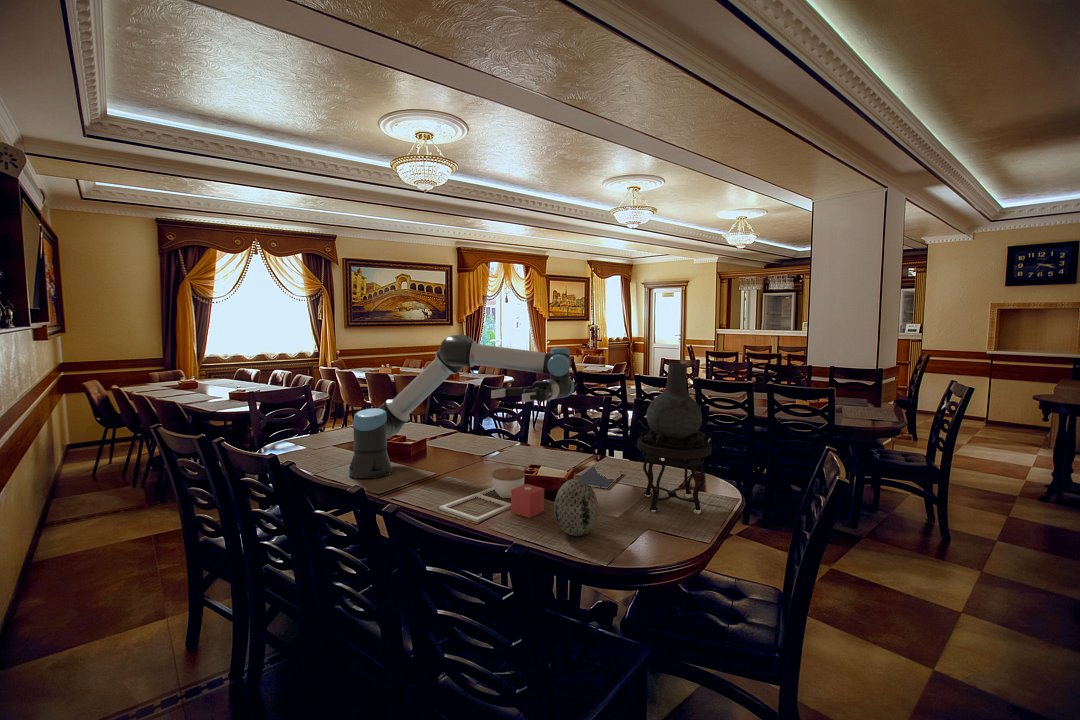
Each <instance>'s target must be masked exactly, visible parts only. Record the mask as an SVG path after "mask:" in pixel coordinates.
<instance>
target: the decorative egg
mask: <svg viewBox="0 0 1080 720" xmlns="http://www.w3.org/2000/svg"><path fill="white" fill-rule="evenodd" d="M553 506H554V507H553V508H554V509H553V511H554V518H555V521H556V523H557V525H558V527H559V528H560V529H561V531H563V532H564V533H566V534H567V535H569V536H574V537H580V536H584V535H586V534H588V533H589V532H590V531H592V530H593V529H594V527H595V525H596V523H597V522H598V521H597V520H598V517H599V502H598V499H597V495H596V492H595V490H594V488H593V487H590V485H589V484H587V483H586V482H585V481H583V480H581V479H577V478H571V479H569V480H567V481H565V482H564V483H563V484H562V485H561V487H560V488H559V489H558V491H557V493H556V496H555V499H554V505H553Z"/></svg>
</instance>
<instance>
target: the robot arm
mask: <svg viewBox="0 0 1080 720" xmlns="http://www.w3.org/2000/svg"><path fill="white" fill-rule="evenodd" d="M570 352H571V351H570V349H569V348H568V347H552V348H551V349H550V353H549V352H541V351H535V350H526V349H520V348H519V349H518V348H511V347H503V346H497V345H496V346H495V345H487V344H479V343H477V341H475V340H473V338H472V337H470V336H468V335H466V334H454V335H449V336H447V337H445V338H444V339H443V340H442V341H441V343H440V345H439V349H438V350H437V351H436V352H435V354H434V355H435V356H434V357H435V358H434V360H432V361H431V362H430V363H429V364H428V365H427V366H426V367H425V368H424V369H423V370H422V371H421V372H420V373H419V374H418V375H417V376H416V377H414V379H412V381H410V383H408V384H407V386H405V387H404V388H403V389H402V390H401V391H400V392H399V393H398V394H397V395H396V396H395V397H393V398H392V399H389V398H388V399H386V400H385V401H384V402H383V403H382V404H381V405H380V406H379V407H378V408H373V407H372V408H366V409H362V410H361V409H360V410H358V411H357V412H356V413H355V414H354V416H353V422H352V425H353V455H352V457H351V462H350V465H349V468H348V476H349V475H350V476H352V477H356V478H374V479H376V478H375V477H380V478H382V477H381V476H384V477H386V476H385V475H387V474H389V473H391V474H392V472H393V471H392V470H393V469H392V468H393V466H392V462H391V461H390V457H389V454H388V450H387V448H388V438H390V437H392V436H394V435H396V434H397V433H398V432H400V431H401V430H402V428H403V427H404V425H405V424H406V423H407V422H409V420H410V414H411V413H412V412H413V411H414V410H415V409H416V408H417V407H418V406H419V405H421V404H422V403H423V402H424V401H425V400H426V399H427V397H429V396H430V395H431V394H432V393H433V392H434V391H435V390H436V389H437V388H439V386H440V385H441V384H442V383H443V382H444V381H446V380H447V379H448V378H449V377H450V375H457V374H458V373H459V372H461V370H463V368H465V367H468V368H473V367H474V366H481V367H482V366H483V367H489V368H490V367H491V368H500V369H506V370H514V371H515V370H516V371H523V372H529V373H530V372H531V373H539V374H546V375H549V379H544V380H537V381H535V382H533V383H532V385H531V386H518V387H514V386H513V387H499V389H491V392H490V394H491V395H490V399H498V398H502V399H504V398H505V397H507V396H509V397H511V396H512V397H513V396H515V397H516V396H517V397H518V396H519V397H521V403H527V402H535V401H537V402H538V403H539V402H546V401H547V402H551V400H556V399H564V398H567V397H569V396H571V395H572V394H573V393H574V392H575V384H574V382H573V380H572V379H571V378H570V370H571V369H570V368H571V367H570V366H571V365H570V363H571V362H570V361H571V354H570ZM389 475H390V474H389ZM350 476H349V477H350ZM387 476H388V475H387ZM352 477H351V478H352ZM356 478H355V479H356Z"/></svg>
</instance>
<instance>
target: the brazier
mask: <svg viewBox="0 0 1080 720" xmlns="http://www.w3.org/2000/svg"><path fill="white" fill-rule="evenodd" d="M687 372H688V364H687V363H681V362H680V363H678V362H668V369H667V377H666V379H667V380H666V383H665V388H664V390H663V392H661V393H660V394H658V395H657V396H655V397H654V398H653V399H652V400H651V402H650V404H648V405H649V406H648V407H647V410H646V414H645V416H646V421H647V425H648V427H649V428H650V429H649V430H648V429H647V427H646V426H645V427H644V428H645V431H644V429H643V428H640V429H641V430H638V431H639V432H637V434H638V436H639V437H638V438H637V440H636V441H637V442H636V443H637V445H636V446H637V448H638V449H639V450H642V454H643V455H642V456H643V458H644V461H643V465H642V468H643V469H642V470H643V472H644V474H645V476H646V477H647V481H648V482H647V487H646V489H645V492H644V493H643V495H644V494H646V495H650V494H652V497H651V498H652V499H651V504H650V506H649V510H650V509H651V510H658V511H659V508H658V507H657V506H658V502H659V501H660V502H661V501H667V500H670V499H671V498H675V499H677V500H681V501H684V502H688V503H693V504H694V506H695V508H694V509H696V510H700V509H701V503H700V500H699V492H700V491H701V489H702V487H703V486H704V485H705V481H706V479H705V471H704V468H703V467H704V466H703V463H705V457H708V456H710V455H711V454H712V448H713V447H712V444H711V443H710V442H709V441H710V435H708V434H705V433H704V432H703V431H700V428H701V425H702V421H703V416H702V415H703V414H702V410H701V408H700V405H699V404H698V403H697V401H696V400H695V399H694V398H693V397H692V396H691V395H690V394H689V393H688V389H687V375H688V373H687ZM646 433H647V434H646ZM663 459H664V460H663ZM647 464H648V469H647ZM654 464H655V465H659V466H661V468H660V469H661V470H660V471H659V475H658V476H657V479H656V483H655V485H654V484H653V483H654V473H653V472H654V471H653V467H654ZM666 466H674V467H683V468H684V475H683V476H684V481H683V482H684V487H676V488H674V489H673V490H669V489H667V488H665V487H660V482H661V479H662V477H663V474H664V472H665V469H666ZM688 467H689V470H690V473H691V474H690V476H689V477H688V473H689V471H688ZM697 467H699V473H700V477H701V481H700V483H699V480H698V477H697V475H696V472H697ZM692 479H693V480H694V488H693V491H692V488H691V482H692ZM660 490H661V491H663V492H666V493H667V495H668V496H665V497H662V498H661V497H660V498H659V495H660ZM682 490H683V491H684V490H685V494H691V495H692V499H686V498H685V497H684V498H683V497H680V496H679V495H678V494H677V491H682ZM651 491H652V492H651Z"/></svg>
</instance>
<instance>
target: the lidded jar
mask: <svg viewBox="0 0 1080 720" xmlns="http://www.w3.org/2000/svg"><path fill="white" fill-rule="evenodd" d="M525 475H526V474H525V470H523V469H520V468H515V467H509V466H508V467H503V468H497V469H495V470H493V471H492V473H491V476H492V477H491V478H492V479H491V481H492V487H494V490H495V491H494V492H496V494H497V495H498V497H499V496H500V498H501V497H502V499H505V498H511V489H514V488H517V487H519V486H522V485H524V484H525V477H526V476H525Z"/></svg>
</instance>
